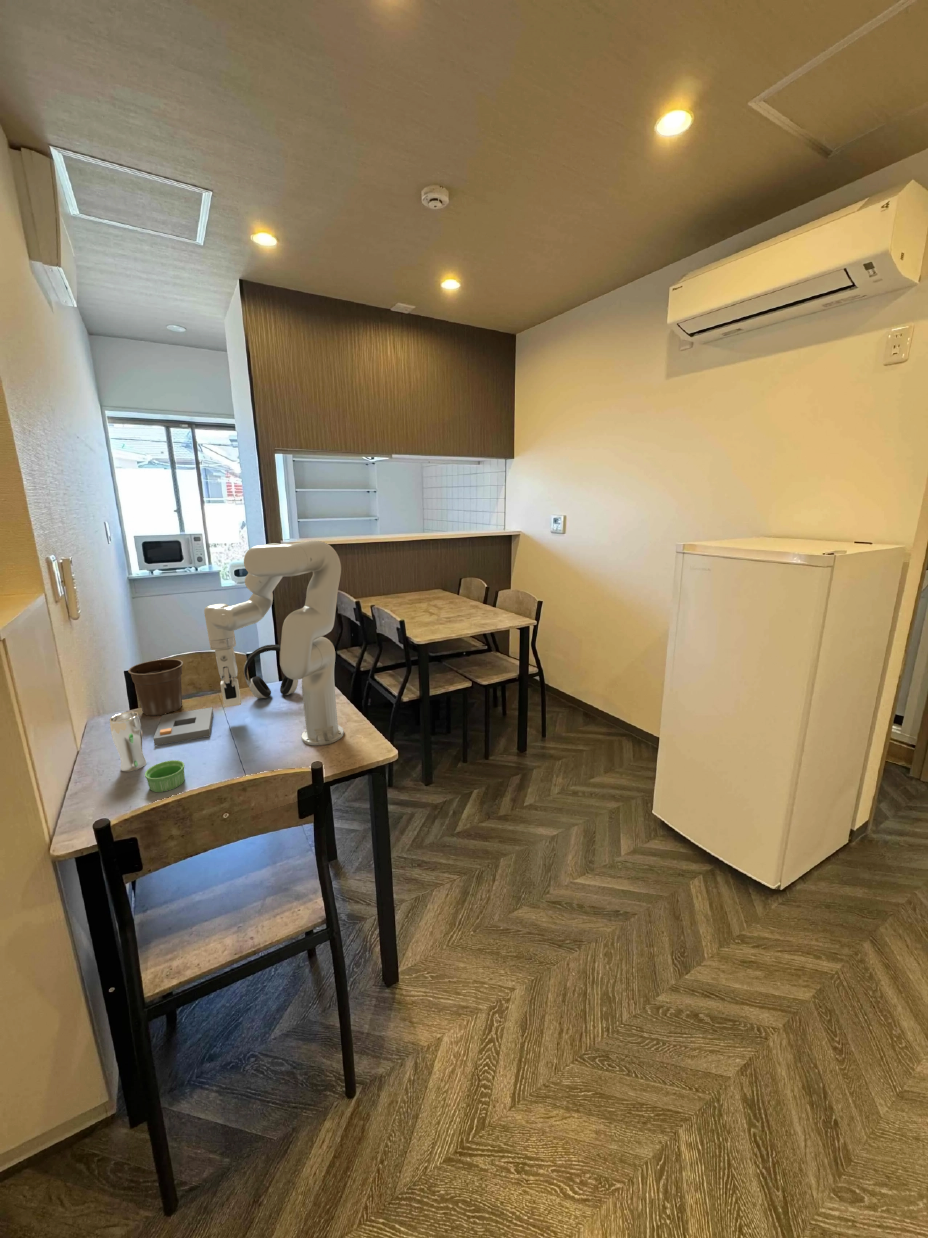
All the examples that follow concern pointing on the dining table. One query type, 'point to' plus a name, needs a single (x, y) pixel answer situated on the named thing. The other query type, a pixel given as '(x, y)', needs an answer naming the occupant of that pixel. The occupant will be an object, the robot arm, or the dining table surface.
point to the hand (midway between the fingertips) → (231, 695)
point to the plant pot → (158, 685)
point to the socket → (184, 726)
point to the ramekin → (165, 775)
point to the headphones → (259, 685)
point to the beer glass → (128, 740)
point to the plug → (234, 700)
